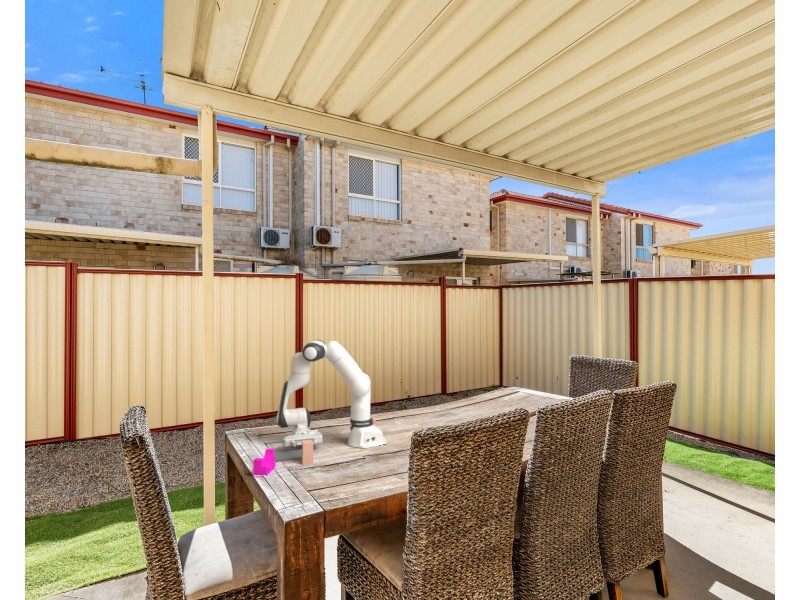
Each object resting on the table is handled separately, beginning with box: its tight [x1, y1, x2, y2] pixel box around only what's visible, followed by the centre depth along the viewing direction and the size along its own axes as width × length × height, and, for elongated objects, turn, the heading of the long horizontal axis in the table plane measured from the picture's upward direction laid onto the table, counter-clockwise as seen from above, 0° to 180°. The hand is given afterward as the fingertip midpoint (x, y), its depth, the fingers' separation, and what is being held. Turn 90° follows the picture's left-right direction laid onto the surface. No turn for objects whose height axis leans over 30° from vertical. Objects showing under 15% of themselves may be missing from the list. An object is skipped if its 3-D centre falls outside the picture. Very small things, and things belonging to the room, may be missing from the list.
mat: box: [274, 447, 302, 462], centre depth 204 cm, size 14×14×1 cm
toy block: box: [252, 447, 277, 477], centre depth 185 cm, size 15×6×8 cm, turn 176°
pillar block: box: [301, 440, 314, 465], centre depth 196 cm, size 5×5×10 cm
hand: (304, 444), depth 205 cm, fingers open, 8 cm apart
